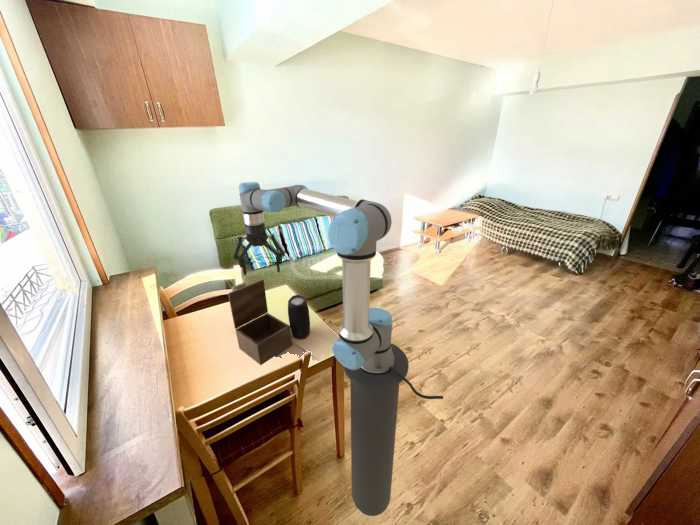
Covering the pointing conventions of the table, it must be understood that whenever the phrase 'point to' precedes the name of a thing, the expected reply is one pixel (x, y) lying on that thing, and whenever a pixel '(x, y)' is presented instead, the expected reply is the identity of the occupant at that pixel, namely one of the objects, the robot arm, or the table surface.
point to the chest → (264, 338)
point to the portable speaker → (299, 316)
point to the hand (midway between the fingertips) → (262, 272)
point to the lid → (247, 302)
